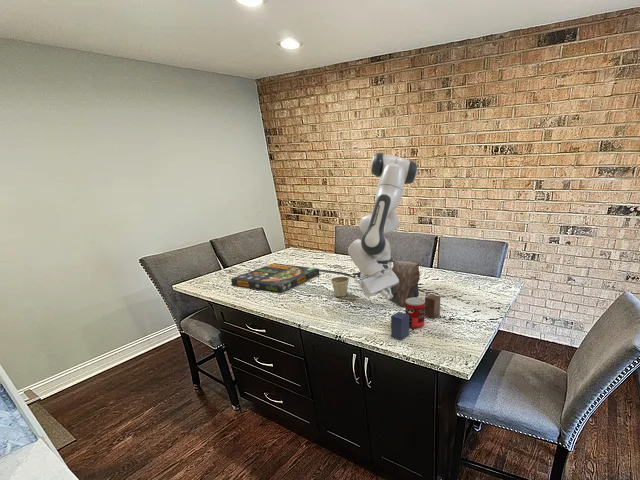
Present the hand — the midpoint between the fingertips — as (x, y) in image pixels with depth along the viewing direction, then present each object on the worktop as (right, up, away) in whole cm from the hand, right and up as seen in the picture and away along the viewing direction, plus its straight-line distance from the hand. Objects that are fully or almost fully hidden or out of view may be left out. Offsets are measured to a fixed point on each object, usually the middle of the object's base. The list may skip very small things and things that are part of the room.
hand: (390, 298), depth 147 cm
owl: (+6, -2, +19) cm, 20 cm away
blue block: (+4, -15, -14) cm, 21 cm away
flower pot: (-27, +2, +29) cm, 39 cm away
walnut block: (+19, -8, +4) cm, 21 cm away
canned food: (+10, -11, -4) cm, 16 cm away
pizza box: (-69, +12, +54) cm, 88 cm away
